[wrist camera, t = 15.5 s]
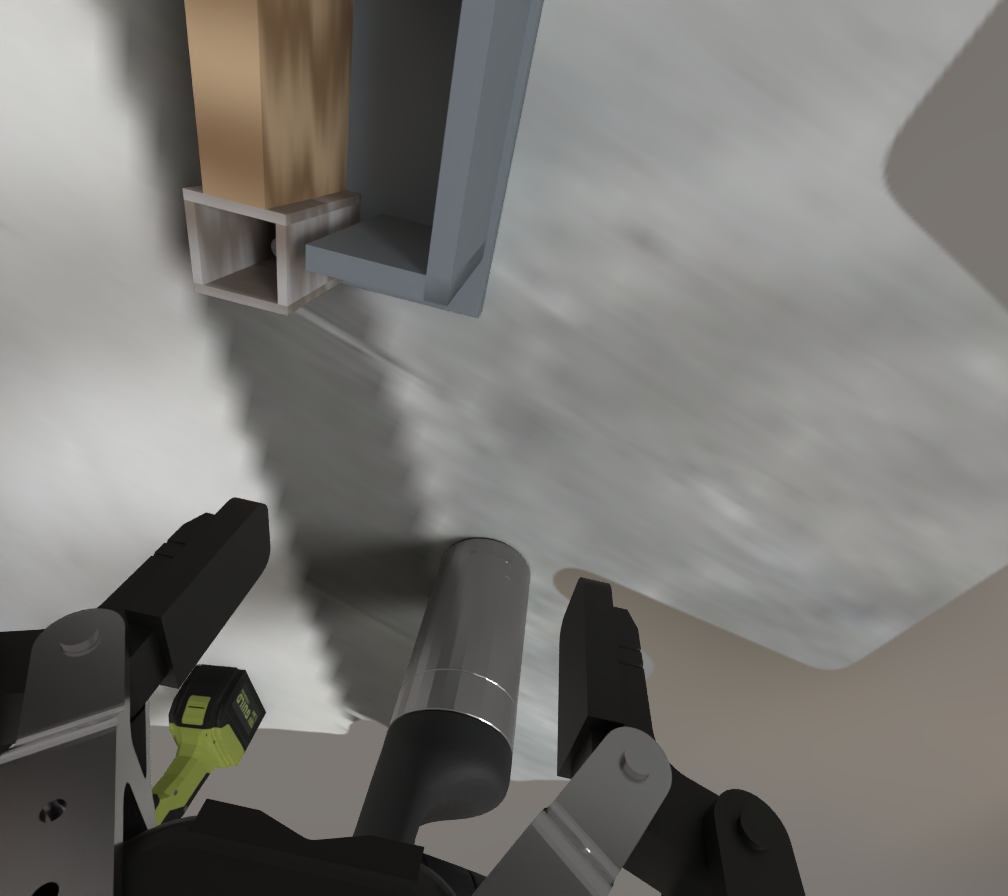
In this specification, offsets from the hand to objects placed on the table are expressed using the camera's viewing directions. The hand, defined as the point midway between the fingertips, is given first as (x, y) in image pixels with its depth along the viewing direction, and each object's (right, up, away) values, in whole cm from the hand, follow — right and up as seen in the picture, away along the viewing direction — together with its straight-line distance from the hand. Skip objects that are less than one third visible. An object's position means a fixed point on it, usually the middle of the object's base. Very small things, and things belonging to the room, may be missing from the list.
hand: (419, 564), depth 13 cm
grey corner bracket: (-4, +23, +18) cm, 30 cm away
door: (-9, +24, +17) cm, 30 cm away
